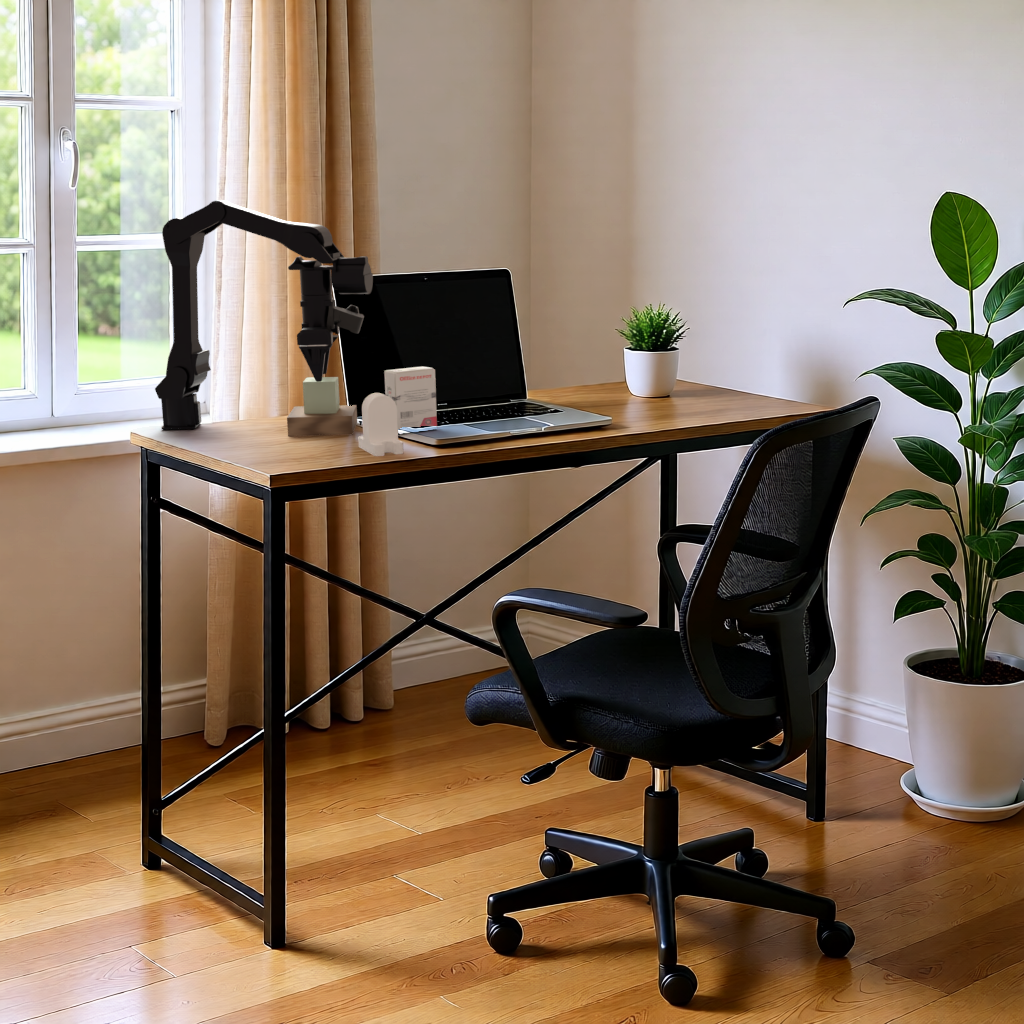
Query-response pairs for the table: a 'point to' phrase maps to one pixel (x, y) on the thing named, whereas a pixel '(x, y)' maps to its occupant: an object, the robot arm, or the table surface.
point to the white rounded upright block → (380, 426)
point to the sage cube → (321, 395)
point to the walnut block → (322, 422)
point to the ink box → (413, 395)
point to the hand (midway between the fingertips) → (321, 377)
